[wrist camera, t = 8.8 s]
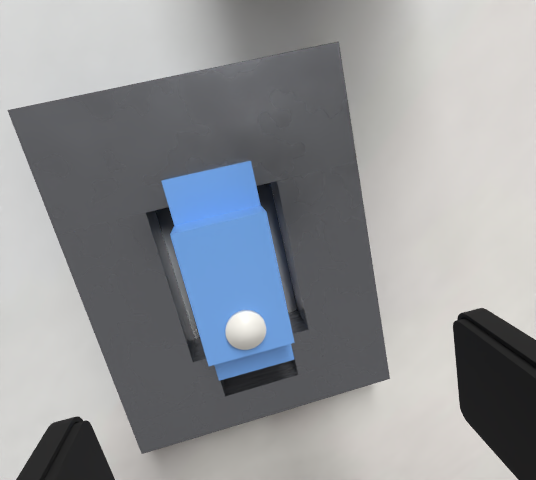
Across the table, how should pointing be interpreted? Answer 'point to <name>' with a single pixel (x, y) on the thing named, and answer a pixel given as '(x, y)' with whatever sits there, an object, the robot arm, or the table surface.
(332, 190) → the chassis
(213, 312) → the servo
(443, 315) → the table surface
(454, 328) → the robot arm
